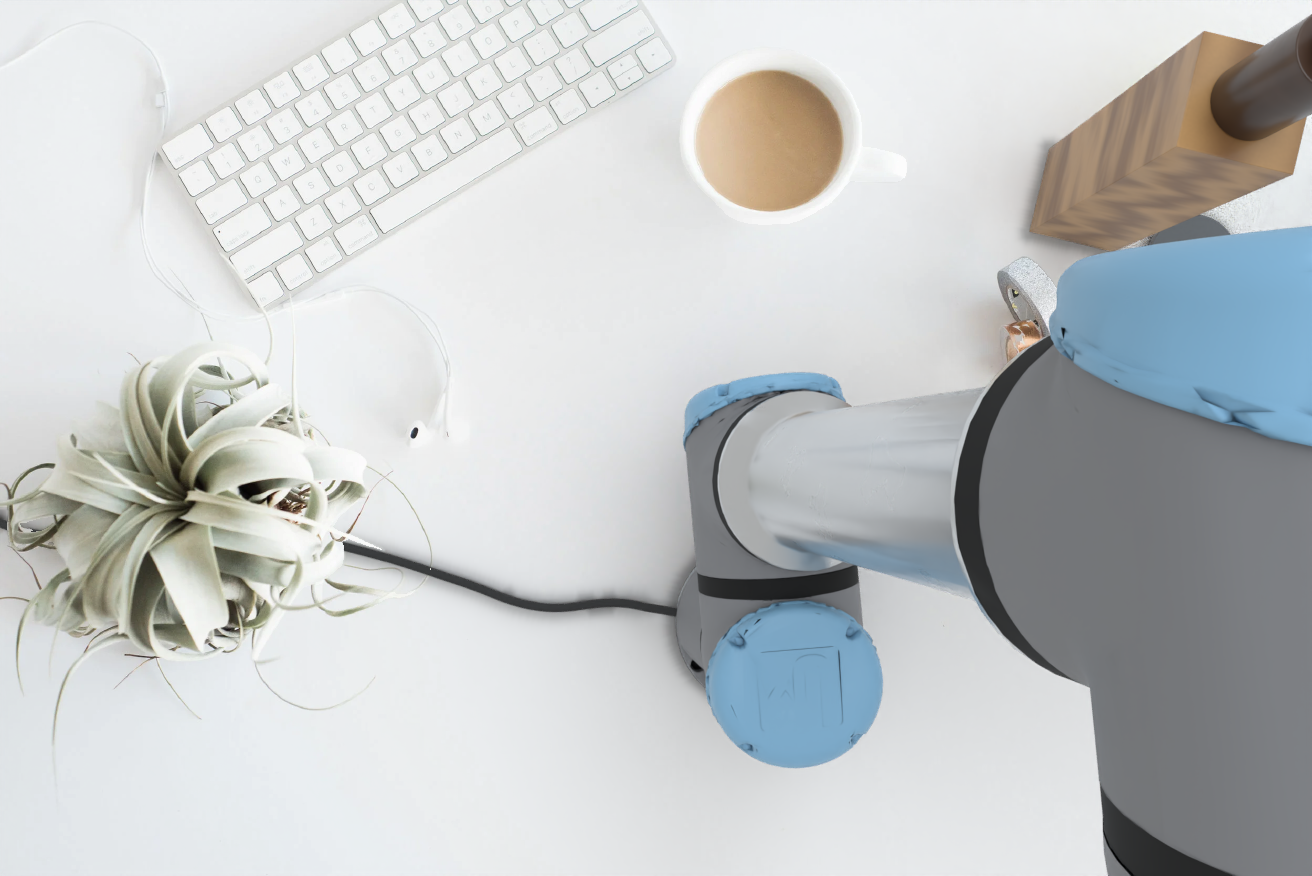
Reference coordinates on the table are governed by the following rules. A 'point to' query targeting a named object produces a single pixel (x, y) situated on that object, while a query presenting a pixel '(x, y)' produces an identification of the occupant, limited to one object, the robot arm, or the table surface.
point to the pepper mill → (1267, 87)
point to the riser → (1158, 155)
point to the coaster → (1190, 230)
